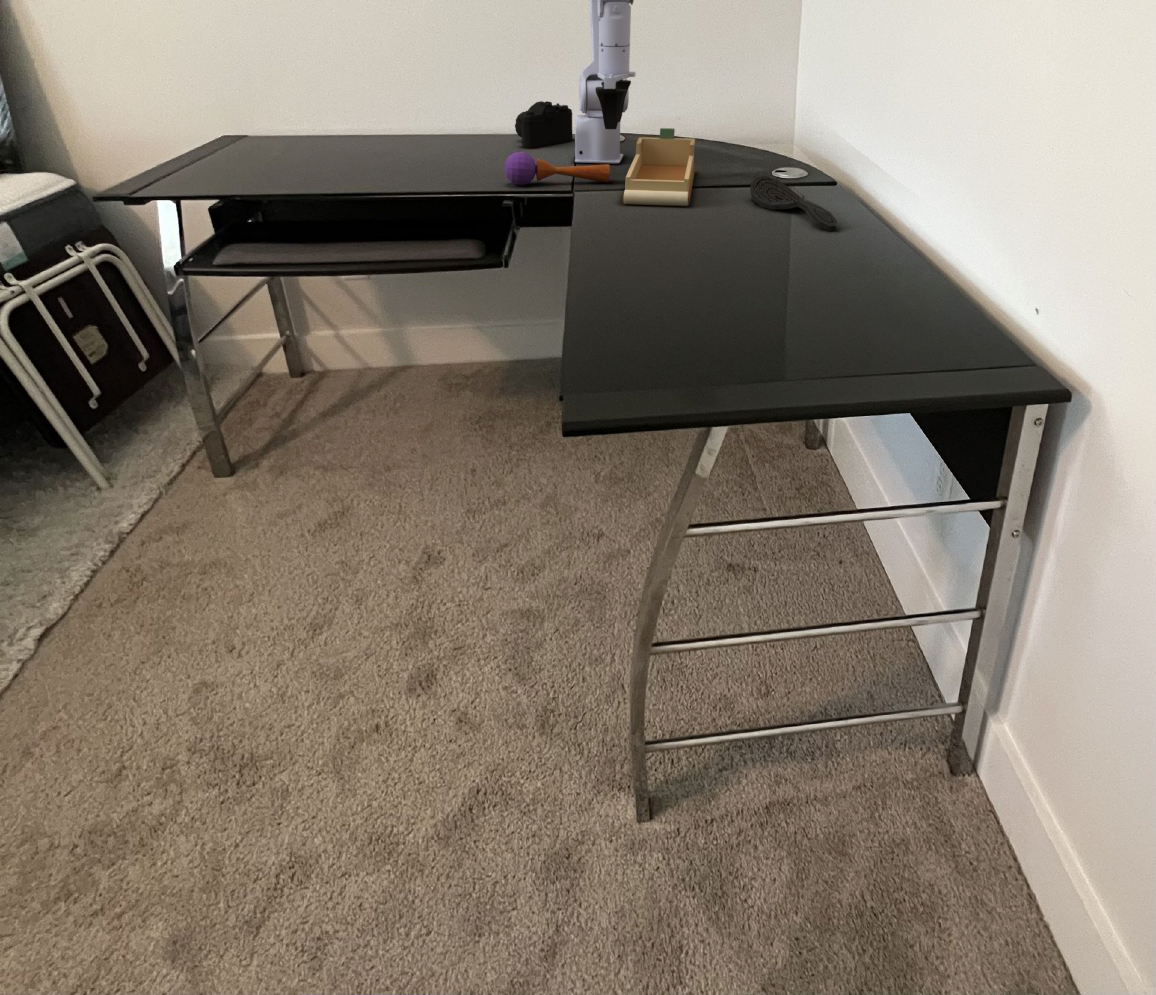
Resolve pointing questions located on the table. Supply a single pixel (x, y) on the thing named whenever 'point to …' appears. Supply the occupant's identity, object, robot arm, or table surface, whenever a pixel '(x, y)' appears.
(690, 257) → the table surface
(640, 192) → the wooden tray
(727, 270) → the table surface
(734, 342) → the table surface
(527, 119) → the film camera
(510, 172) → the kendama
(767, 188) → the hairbrush
